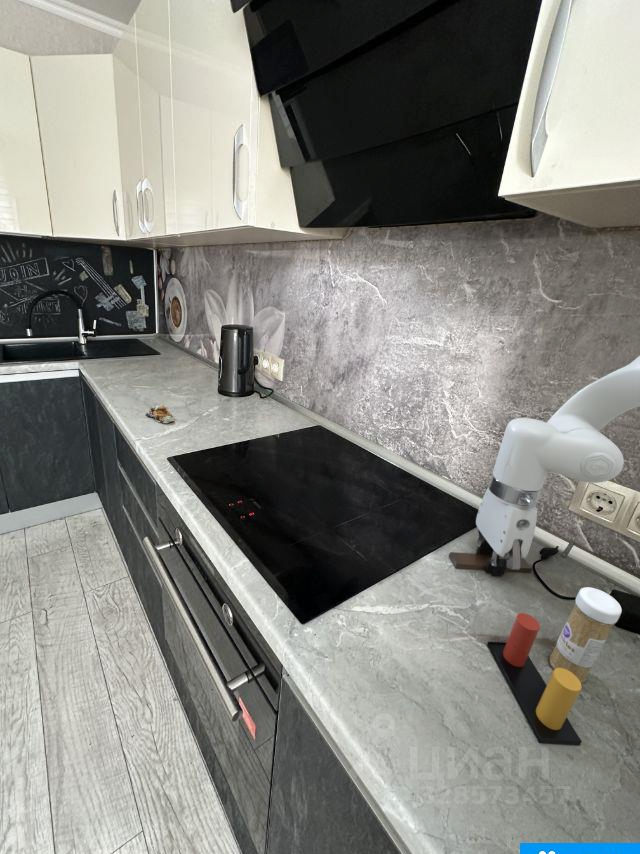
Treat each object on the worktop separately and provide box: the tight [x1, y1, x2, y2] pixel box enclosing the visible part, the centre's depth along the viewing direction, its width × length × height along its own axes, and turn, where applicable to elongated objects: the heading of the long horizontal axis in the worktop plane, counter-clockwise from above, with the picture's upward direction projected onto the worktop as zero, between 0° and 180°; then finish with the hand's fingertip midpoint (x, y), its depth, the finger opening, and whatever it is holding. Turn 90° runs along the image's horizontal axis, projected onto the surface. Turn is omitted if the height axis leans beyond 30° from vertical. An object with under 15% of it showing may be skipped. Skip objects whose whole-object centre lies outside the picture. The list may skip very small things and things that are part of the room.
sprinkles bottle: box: [548, 586, 623, 684], centre depth 53 cm, size 5×5×13 cm
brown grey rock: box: [145, 405, 176, 424], centre depth 133 cm, size 7×12×4 cm, turn 49°
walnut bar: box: [448, 551, 533, 574], centre depth 73 cm, size 14×3×3 cm, turn 89°
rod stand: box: [486, 612, 583, 746], centre depth 51 cm, size 5×13×8 cm, turn 179°
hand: (486, 571), depth 73 cm, fingers closed on walnut bar, 3 cm apart
